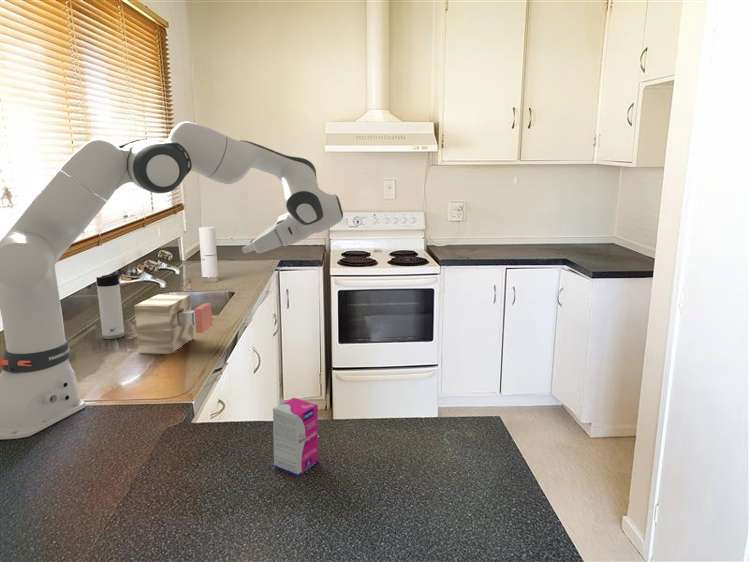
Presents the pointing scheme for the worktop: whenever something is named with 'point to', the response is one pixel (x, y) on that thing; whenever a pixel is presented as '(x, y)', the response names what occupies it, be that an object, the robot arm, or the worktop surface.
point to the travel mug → (110, 306)
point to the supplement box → (295, 436)
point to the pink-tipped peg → (197, 317)
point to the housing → (162, 324)
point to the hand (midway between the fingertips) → (247, 246)
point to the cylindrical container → (208, 251)
